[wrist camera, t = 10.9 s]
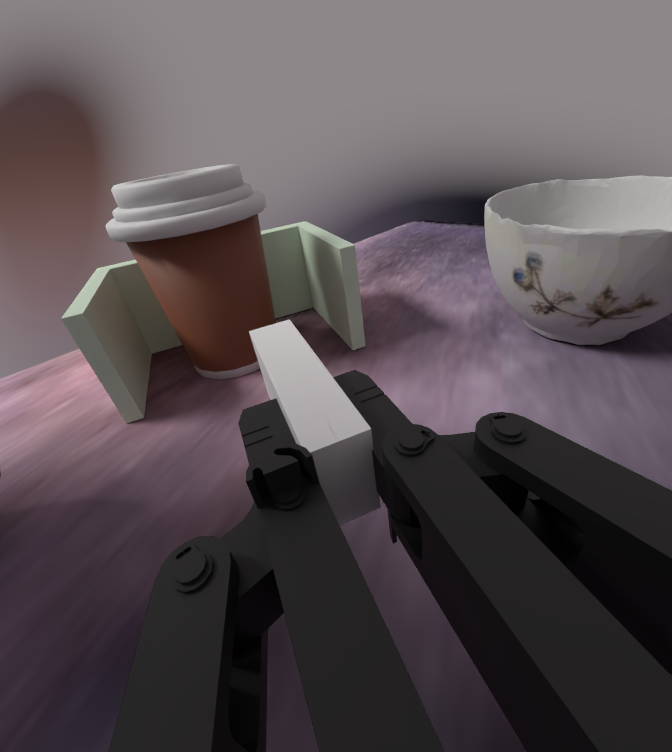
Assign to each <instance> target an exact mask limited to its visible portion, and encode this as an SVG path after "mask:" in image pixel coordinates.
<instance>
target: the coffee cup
mask: <svg viewBox="0 0 672 752" xmlns="http://www.w3.org/2000/svg"><path fill="white" fill-rule="evenodd" d="M111 191H112V193H113V196H114V198H115V200H116V202H117V205H118V207H117V208H116V209H115V210H113V216H114V219H112V220H110V221H109V222H108V223H107V224H106V229H107V232H108V233H109V236H110V238H111V240H114V241H118V242H126V243H127V245H128V247H129V248H130V250H131V252H132V254H133V256H134V257H135V259H136V261H137V263H138V265H139V267H140V268H141V270H142V272H143V274H144V276H145V278H146V279H147V281H148V283H149V285H150V287H151V288H152V290H153V292H154V294H155V296H156V298H157V299H158V301H159V303H160V305H161V307H162V309H163V310H164V312H165V314H166V316H167V318H168V319H169V321H170V323H171V325H172V327H173V329H174V330H175V332H176V334H177V336H178V338H179V339H180V341H181V343H182V345H183V347H184V349H185V350H186V352H187V354H188V356H189V358H190V360H191V361H192V363H193V365H194V367H195V370H196V372H197V373H199V374H200V375H202V376H203V377H204V378H211V379H218V380H220V379H229V378H237V377H240V376H243V375H246V374H249V373H252V372H255V371H257V370H258V369H260V366H259V363H258V359H257V356H256V353H255V350H254V346H253V343H252V340H251V337H250V334H249V331H252V330H255V329H259V328H262V327H265V326H269V325H272V324H275V323H276V321H275V315H274V309H273V303H272V297H271V291H270V285H269V279H268V273H267V267H266V261H265V255H264V249H263V243H262V237H261V231H260V225H259V220H258V213H260V212H262V211H263V210H264V209H265V208H266V201H265V197H264V195H263V193H261V192H258V191H254V190H252V187H251V185H250V184H247V183H244V182H243V180H242V176H241V172H240V168H239V166H237V165H236V164H227V165H219V166H213V167H206V168H200V169H194V170H188V171H183V172H177V173H171V174H165V175H160V176H155V177H150V178H145V179H140V180H135V181H130V182H126V183H122V184H117V185H115V186H113V188H112V190H111Z"/></svg>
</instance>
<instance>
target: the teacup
mask: <svg viewBox="0 0 672 752" xmlns="http://www.w3.org/2000/svg"><path fill="white" fill-rule="evenodd" d="M485 237H486V247H487V253H488V258H489V263H490V267H491V270H492V273H493V276H494V279H495V281H496V283H497V285H498V287H499V289H500V291H501V293H502V295H503V296H504V298H505V299H506V301H507V302H508V304H509V305H510V306H511V307H512V308H513V309H514V311H515V312H516V313H517V314H518V315H519V316H520V317H521V318H522V319H523V320H524V322H525V325H527V326H528V327H529V328H530V329H531V330H533V331H535V332H536V333H538V334H540V335H542V336H544V337H547V338H550V339H554V340H559V341H565V342H569V343H573V344H577V345H602V344H605V343H608V342H612V341H615V340H619V339H622V338H624V337H625V336H626V335H627V334H628V333H630V332H632V331H635V330H638V329H640V328H643V327H645V326H648V325H650V324H652V323H654V322H656V321H658V320H660V319H662V318H664V317H665V316H667V315H669V314H671V313H672V177H649V176H626V177H616V178H610V179H591V180H574V181H568V180H560V179H557V180H553V181H547V182H543V183H534V184H528V185H525V186H521V187H517V188H513V189H510V190H505V191H502V192H500V193H498V194H496V195H495V196H493V197H491V198H490V199H488V201H487V203H486V204H485Z"/></svg>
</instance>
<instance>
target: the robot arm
mask: <svg viewBox="0 0 672 752" xmlns="http://www.w3.org/2000/svg"><path fill="white" fill-rule="evenodd" d="M249 334H250V337H251V340H252V343H253V346H254V350H255V353H256V356H257V359H258V363H259V366H260V369H261V372H262V375H263V379H264V382H265V385H266V388H267V391H268V394H269V397H270V399H271V400H270V401H267V402H264V403H261V404H258V405H255V406H253V407H250V408H247V409H244V410H243V411H242V414H241V417H240V420H239V427H240V431H241V435H242V438H243V442H244V446H245V450H246V454H247V458H248V462H249V467H248V469H247V471H246V482H247V485H248V487H249V489H250V492H251V494H252V496H253V499H254V504H253V506H252V508H251V510H250V512H249V513H248V515H247V516H246V517H245V519H244V520H243V521H242V522H241V523H239V524H238V525H237V526H236V527H235V528H234V529H232V530H231V531H230V532H228V533H227V534H226V535H224V536H223V537H222V538H221V539H218V538H216V537H213V536H204V537H198V538H195V539H192V540H190V541H187V542H185V543H184V544H183V545H181V546H180V547H178V548H177V549H176V550H174V551H173V552H172V553H171V554H170V556H169V557H168V558H167V559H166V561H165V562H164V563H163V564H162V566H161V568H160V570H159V573H158V575H157V577H156V579H155V583H154V587H153V590H152V594H151V598H150V601H149V605H148V609H147V612H146V616H145V620H144V623H143V627H142V631H141V634H140V638H139V642H138V645H137V649H136V653H135V656H134V660H133V664H132V667H131V671H130V675H129V678H128V682H127V686H126V689H125V693H124V697H123V700H122V704H121V708H120V711H119V715H118V719H117V722H116V726H115V730H114V733H113V737H112V741H111V744H110V748H109V752H266V718H267V648H268V628H269V627H270V626H271V625H272V624H273V623H274V622H275V621H276V620H277V619H278V618H279V617H280V616H281V615H282V614H283V613H284V614H285V618H286V622H287V626H288V630H289V633H290V637H291V641H292V645H293V649H294V653H295V657H296V661H297V665H298V669H299V673H300V677H301V681H302V685H303V689H304V692H305V696H306V700H307V704H308V708H309V712H310V716H311V720H312V724H313V728H314V732H315V736H316V740H317V744H318V748H319V752H445V751H444V749H443V747H442V745H441V743H440V741H439V739H438V736H437V734H436V732H435V730H434V728H433V726H432V724H431V721H430V719H429V717H428V715H427V713H426V711H425V708H424V706H423V704H422V702H421V700H420V698H419V696H418V693H417V691H416V689H415V687H414V685H413V683H412V681H411V678H410V676H409V674H408V672H407V670H406V668H405V666H404V663H403V661H402V659H401V657H400V655H399V653H398V650H397V648H396V646H395V644H394V642H393V640H392V638H391V635H390V633H389V631H388V629H387V627H386V625H385V623H384V620H383V618H382V616H381V614H380V612H379V610H378V608H377V605H376V603H375V601H374V599H373V597H372V595H371V592H370V590H369V588H368V586H367V584H366V582H365V580H364V577H363V575H362V573H361V571H360V569H359V567H358V565H357V562H356V560H355V558H354V556H353V554H352V552H351V550H350V547H349V545H348V543H347V541H346V539H345V537H344V534H343V532H342V530H341V528H340V525H342V524H344V523H347V522H349V521H351V520H353V519H355V518H358V517H360V516H362V515H364V514H366V513H369V512H371V511H373V510H375V509H378V508H380V500H379V495H380V497H381V499H382V500H383V502H384V503H385V505H386V507H387V508H388V517H389V527H390V536H391V539H392V542H393V544H394V543H396V542H397V536H398V538H399V539H400V541H401V543H402V544H403V546H404V548H405V549H406V551H407V553H408V554H409V556H410V558H411V559H412V561H413V563H414V564H415V566H416V568H417V569H418V571H419V573H420V574H421V576H422V578H423V579H424V581H425V583H426V584H427V586H428V588H429V589H430V591H431V593H432V594H433V596H434V598H435V599H436V601H437V603H438V604H439V606H440V608H441V609H442V611H443V613H444V614H445V616H446V618H447V619H448V621H449V623H450V624H451V626H452V628H453V629H454V631H455V633H456V634H457V636H458V638H459V639H460V641H461V643H462V644H463V646H464V648H465V649H466V651H467V653H468V654H469V656H470V658H471V659H472V661H473V663H474V664H475V666H476V668H477V669H478V671H479V673H480V674H481V676H482V678H483V679H484V681H485V683H486V684H487V686H488V688H489V689H490V691H491V693H492V694H493V696H494V698H495V699H496V701H497V703H498V704H499V706H500V708H501V709H502V711H503V713H504V714H505V716H506V718H507V719H508V721H509V723H510V724H511V726H512V728H513V729H514V731H515V733H516V734H517V736H518V738H519V739H520V741H521V743H522V744H523V746H524V748H525V749H526V751H527V752H672V676H671V675H672V491H671V490H669V489H667V488H665V487H663V486H661V485H659V484H657V483H655V482H653V481H651V480H649V479H647V478H645V477H643V476H641V475H639V474H637V473H635V472H633V471H631V470H629V469H627V468H625V467H623V466H621V465H619V464H617V463H615V462H613V461H611V460H609V459H607V458H605V457H603V456H601V455H599V454H597V453H595V452H593V451H591V450H589V449H587V448H585V447H583V446H581V445H579V444H577V443H575V442H573V441H571V440H569V439H567V438H565V437H563V436H561V435H559V434H557V433H555V432H553V431H551V430H549V429H547V428H545V427H543V426H541V425H539V424H537V423H535V422H533V421H531V420H529V419H527V418H525V417H522V416H519V415H516V414H514V413H505V412H498V413H490V414H488V415H486V416H483V417H481V418H480V420H479V421H478V422H477V423H476V430H475V432H470V433H462V434H454V435H438V434H437V433H435V432H434V431H432V430H431V429H430V428H428V427H424V426H421V425H417V424H412V423H411V422H410V421H409V420H408V419H407V418H406V416H405V415H404V414H403V413H402V412H401V411H400V410H399V409H398V408H397V407H396V406H395V404H394V403H393V402H392V401H391V400H390V399H389V398H388V397H387V396H386V395H384V392H383V391H382V390H381V389H380V388H379V387H377V385H376V384H375V383H374V382H373V380H372V379H371V378H370V377H369V376H367V375H365V374H363V373H361V372H358V371H356V370H353V371H350V372H347V373H345V374H342V375H339V376H336V377H332V376H331V374H330V373H329V372H328V370H327V369H326V368H325V366H324V365H323V363H322V362H321V361H320V359H319V358H318V357H317V355H316V354H315V353H314V351H313V350H312V349H311V347H310V346H309V345H308V343H307V342H306V341H305V339H304V338H303V337H302V335H301V334H300V333H299V331H298V330H297V329H296V327H295V326H294V325H293V323H292V322H291V321H290V319H289V320H286V321H282V322H279V323H275V324H272V325H269V326H265V327H262V328H259V329H255V330H252V331H249ZM396 534H397V535H396ZM669 673H670V674H671V675H670V674H669Z"/></svg>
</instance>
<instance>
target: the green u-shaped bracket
mask: <svg viewBox="0 0 672 752" xmlns="http://www.w3.org/2000/svg"><path fill="white" fill-rule="evenodd" d="M261 237H262V243H263V249H264V255H265V261H266V267H267V273H268V279H269V285H270V291H271V297H272V303H273V309H274V315H275V319H276V318H279V317H283V316H286V315H290V314H293V313H297V312H300V311H304V310H307V309H311V308H314V309H315V310H316V311H317V312H318V313H319V314H320V315H321V317H322V318H323V319H324V320H325V321H326V322H327V323H328V324H329V325H330V326H331V327H332V329H333V330H334V331H335V332H336V333H337V334H338V335H339V336H340V337H341V338H342V339H343V340H344V342H345V343H346V344H347V345H348V346H349V347H350V348H351V349H352V350H356V349H359V348H362V347H365V346H366V344H365V335H364V326H363V317H362V307H361V298H360V289H359V279H358V270H357V261H356V252H355V245H354V244H352V243H350V242H347V241H345V240H343V239H341V238H339V237H337V236H335V235H333V234H331V233H329V232H327V231H325V230H323V229H320V228H318V227H316V226H314V225H312V224H310V223H308V222H306V221H304V222H300V223H296V224H291V225H287V226H282V227H278V228H274V229H269V230H265V231H261ZM61 319H62V321H63V322H64V324H65V326H66V327H67V329H68V330H69V332H70V334H71V335H72V337H73V339H74V340H75V342H76V343H77V345H78V346H79V348H80V350H81V351H82V353H83V354H84V356H85V358H86V359H87V361H88V362H89V364H90V366H91V367H92V369H93V370H94V372H95V374H96V375H97V377H98V378H99V380H100V382H101V383H102V385H103V386H104V388H105V390H106V391H107V393H108V394H109V396H110V398H111V399H112V401H113V402H114V404H115V406H116V407H117V409H118V410H119V412H120V413H121V415H122V417H123V418H124V420H125V421H126V423H130V422H133V421H136V420H139V419H142V418H144V414H145V406H146V398H147V389H148V381H149V373H150V365H151V357H152V354H153V353H157V352H160V351H164V350H167V349H171V348H174V347H178V346H181V345H182V343H181V341H180V339H179V338H178V336H177V334H176V332H175V330H174V329H173V327H172V325H171V323H170V321H169V319H168V318H167V316H166V314H165V312H164V310H163V309H162V307H161V305H160V303H159V301H158V299H157V298H156V296H155V294H154V292H153V290H152V288H151V287H150V285H149V283H148V281H147V279H146V278H145V276H144V274H143V272H142V270H141V268H140V267H139V265H138V263H137V261H136V260H132V261H128V262H123V263H119V264H115V265H111V266H106V267H101V268H97V269H96V271H95V272H94V274H93V275H92V277H91V278H90V279H89V281H88V282H87V283H86V285H85V286H84V288H83V289H82V290H81V292H80V293H79V294H78V296H77V297H76V299H75V300H74V301H73V303H72V304H71V306H70V307H69V308H68V310H67V311H66V313H65V314H64V315H63V317H62V318H61Z"/></svg>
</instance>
